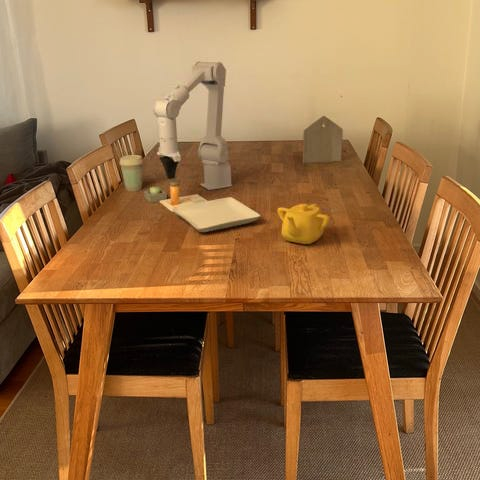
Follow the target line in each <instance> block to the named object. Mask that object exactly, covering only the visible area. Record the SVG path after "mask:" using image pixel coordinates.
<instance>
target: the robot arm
mask: <svg viewBox="0 0 480 480" xmlns="http://www.w3.org/2000/svg"><path fill="white" fill-rule="evenodd" d="M226 74H227V69H226V67H225V66H224V64H223V63H222V62H220V61H217V62H214V61H213V62H211V61H200V60H198V61H196V62H195V63H194V65H192V67H191V72H190V73H189V75H188V76H187V77H186V78H185V79H184V81H183V82H182V84H176V85H175V84H174V85H173V87H172V89H171V90H170V91H169V92H168V93H167V94H166V95H165V96H164V97H163V98H162V99H158V100H157V101H156V102H155V103H154V105H153V108H152V112H153V115H154V116H155V119H156V122H157V126H158V127H157V128H158V138H159V140H158V141H159V146H158V151H157V152H156V155H158V156H161V157H159V160H160V162H161V163H162V166H163V168H164V172H165V176H166V177H167V180H173V179H175V178H176V172H177V167H178V165H179V163H180V162H181V161H182V158H181V157H182V156H181V154H180V150H179V148H178V147H179V146H178V131H177V130H178V129H177V118H178V116H179V114H180V110H181V108H182V107H183V105H184V104H185V103H186V102H187V101H188V99H189V98H190V93H191V91H193V90H194V89H195V88H196V87H197V86H199V84H201V85H203V86H205V88H206V89H207V90H208V94H207V95H208V96H207V97H208V98H207V114H206V115H207V116H206V131H205V135H204V136H203V137H202V138H201V139H200V143H199V148H198V150H197V155H198V158H199V160H200V161H201V163H203V175H204V177H203V179H204V182H203V183H200V185H201V186H202V187H204V188H205V189H206V190H209V191H211V190H216V189H217V190H218V189H225V188H229V187H233V184H232V171H231V170H232V168H231V165H230V163H229V162H228V161H227V159H228V157H229V150H228V142H227V140H225V138H223V136H222V126H223V125H222V124H223V112H224V111H223V110H224V109H223V107H224V95H225V91H224V90H225V87H226V77H227V76H226Z"/></svg>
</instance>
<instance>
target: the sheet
mask: <svg viewBox="0 0 480 480" xmlns="http://www.w3.org/2000/svg"><path fill="white" fill-rule="evenodd" d="M206 201H208V200H207V199H205V198H204V197H202V196H201V195H199V193H198V194H197V193H196V194H190V195H186V196H184V195H183V196H180V204H179V205H171V198H168V199H167V200H161V201H159V203H160V204H161V205H163V206H164V207H165V208H167V209H168V210H169V211H170V212H172V213H175V212H174V211H173V208H176V207H181V206H186V205H191V204H196V203H201V202H206Z"/></svg>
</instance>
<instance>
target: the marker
mask: <svg viewBox="0 0 480 480" xmlns="http://www.w3.org/2000/svg"><path fill="white" fill-rule="evenodd" d="M169 189H170V199H171V205H179V204H180V197H181V196H180V181H178V180H171V181H170V182H169Z"/></svg>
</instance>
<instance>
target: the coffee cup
mask: <svg viewBox="0 0 480 480" xmlns="http://www.w3.org/2000/svg"><path fill="white" fill-rule="evenodd" d="M143 164H144V160H143V157H142V156H141V155H138V154H128V155H123V156H121V157H120V159H119V165H120V169H121V174H122V178H123V183H124V187H125V191H126V192H132V193H133V192H140V191H142V189H143Z"/></svg>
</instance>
